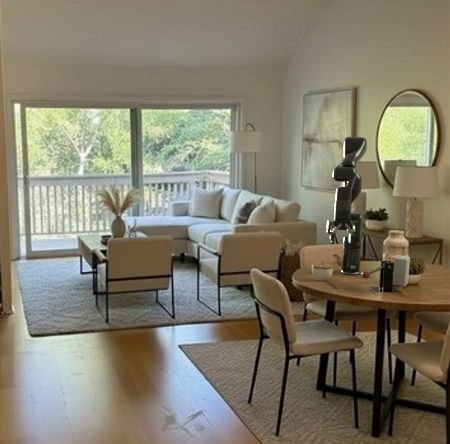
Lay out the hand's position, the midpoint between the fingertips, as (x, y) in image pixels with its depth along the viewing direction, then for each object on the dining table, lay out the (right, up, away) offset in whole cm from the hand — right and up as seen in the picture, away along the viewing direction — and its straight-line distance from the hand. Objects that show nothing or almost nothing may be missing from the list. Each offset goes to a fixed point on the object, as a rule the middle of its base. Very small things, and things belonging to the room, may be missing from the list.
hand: (341, 242), depth 272 cm
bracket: (+21, -24, 0) cm, 32 cm away
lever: (+17, -15, -1) cm, 23 cm away
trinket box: (-2, -21, +24) cm, 32 cm away
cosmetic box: (+33, -23, +11) cm, 42 cm away
